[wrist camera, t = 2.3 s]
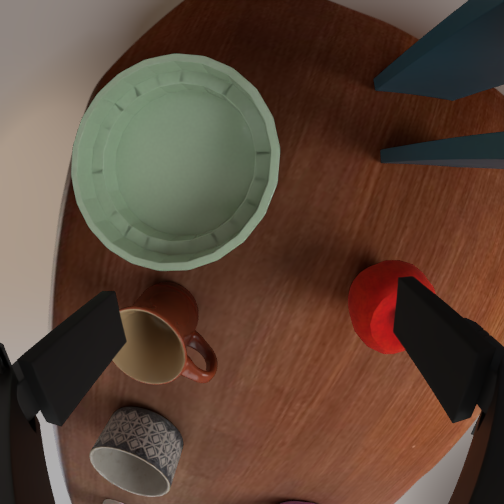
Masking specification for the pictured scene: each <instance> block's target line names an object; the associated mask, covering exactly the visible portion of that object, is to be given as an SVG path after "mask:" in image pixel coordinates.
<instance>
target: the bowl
mask: <svg viewBox="0 0 504 504" xmlns="http://www.w3.org/2000/svg"><path fill="white" fill-rule="evenodd" d="M279 160H280V146H279V141H278V136H277V132H276V127H275V123H274V118H273V116H272V114H271V112H270V111H269V109H268V107H267V105H266V104H265V102H264V100H263V98H262V97H261V95H260V93H259V92H258V90H257V89H256V88H255V87H254V86H253V85H252V84H251V83H250V82H249V81H247V80H246V79H245V78H244V77H243V76H242V75H241V74H239V73H238V72H237V71H236V70H235V69H233V68H232V67H229V66H227V65H225V64H223V63H220V62H218V61H215V60H213V59H211V58H208V57H206V56H199V55H189V54H176V53H175V54H169V55H164V56H159V57H155V58H150V59H146V60H143V61H142V62H140V63H138V64H136V65H134V66H132V67H130V68H128V69H126V70H124V71H123V72H121V73H119V74H118V75H117V76H116V77H114V78H113V79H112V80H111V81H110V82H109V83H108V84H107V85H106V86H105V87H104V88H103V89H102V90H101V91H100V92H99V93H98V94H97V95H96V97H95V98H94V100H93V101H92V103H91V104H90V106H89V107H88V109H87V111H86V112H85V114H84V116H83V117H82V119H81V122H80V125H79V128H78V131H77V134H76V138H75V141H74V144H73V151H72V168H71V177H72V183H73V188H74V193H75V197H76V202H77V205H78V207H79V209H80V211H81V213H82V215H83V217H84V219H85V221H86V223H87V225H88V227H89V228H90V229H91V230H92V232H93V233H94V234H95V235H96V236H97V237H98V238H99V239H100V241H101V242H102V243H103V244H104V245H105V246H106V247H107V248H108V249H109V250H111V251H112V252H114V253H116V254H117V255H119V256H120V257H122V258H124V259H125V260H127V261H129V262H130V263H132V264H136V265H139V266H143V267H147V268H150V269H154V270H158V271H174V270H190V269H193V268H196V267H199V266H202V265H205V264H208V263H211V262H214V261H217V260H219V259H220V258H222V257H223V256H225V255H226V254H227V253H229V252H230V251H232V250H233V249H234V248H236V247H237V246H239V245H240V244H242V243H243V242H244V241H245V240H246V239H247V237H248V236H249V235H250V234H251V232H252V231H253V230H254V228H255V227H256V226H257V225H258V223H259V222H260V221H261V220H262V218H263V217H264V215H265V214H266V211H267V209H268V206H269V203H270V201H271V198H272V196H273V193H274V191H275V188H276V186H277V182H278V171H279Z"/></svg>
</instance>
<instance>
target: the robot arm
mask: <svg viewBox="0 0 504 504" xmlns="http://www.w3.org/2000/svg"><path fill="white" fill-rule="evenodd" d="M393 333H394V334H395V335H396V337H397V338H398V340H399V341H400V343H401V344H402V346H403V347H404V348H405V350H406V351H407V353H408V354H409V356H410V357H411V359H412V360H413V362H414V363H415V365H416V366H417V368H418V369H419V371H420V372H421V374H422V375H423V377H424V378H425V380H426V381H427V383H428V385H429V386H430V388H431V389H432V391H433V392H434V394H435V395H436V397H437V399H438V400H439V402H440V403H441V405H442V407H443V408H444V410H445V411H446V413H447V415H448V416H449V418H450V420H451V421H452V423H455V422H458V421H461V420H464V419H467V418H470V417H471V416H472V413H473V411H474V409H475V406H476V404H478V406H479V407H480V409H481V410H482V411H481V413H480V416H479V418H478V420H477V422H476V424H475V426H474V428H473V431H472V433H471V434H473V439H472V442H471V446H470V448H469V452H468V455H467V458H466V460H465V463H464V466H463V469H462V472H461V474H460V477H459V479H458V482H457V485H456V487H455V489H454V492H453V494H452V496H451V499H450V501H449V503H448V504H504V347H503V346H502V345H501V344H500V343H499V342H498V341H497V340H496V339H494V338H493V337H492V336H491V335H490V336H489V333H488V332H486V331H485V330H483V328H482V327H481V326H480V325H478V324H477V323H476V322H474V321H472V320H469V319H467V318H463V317H462V316H460V315H459V314H458V313H457V312H456V311H455V310H453V309H452V308H451V307H450V306H449V305H448V304H446V303H445V302H444V301H443V300H442V299H440V298H439V297H438V296H437V295H436V294H434V293H433V292H432V291H431V290H429V289H428V288H427V287H426V286H425V285H423V284H422V283H421V282H420V281H418V280H417V279H416V278H415V277H413V276H409V277H398V287H397V299H396V309H395V318H394V326H393ZM126 342H127V340H126V336H125V332H124V328H123V324H122V320H121V316H120V311H119V307H118V303H117V298H116V293H115V291H102V292H100V293H99V294H98V295H97V296H95V297H94V298H93V299H91V300H90V301H89V302H87V303H86V304H85V305H84V306H82V307H81V308H80V309H78V310H77V311H76V312H75V313H73V314H72V315H71V316H70V317H68V318H67V319H66V320H65V321H63V322H62V323H61V324H60V325H58V326H57V327H56V328H55V329H53V330H52V331H51V332H50V333H48V334H47V335H46V336H45V337H44V338H43V339H41V340H40V341H39V342H38V343H36V344H35V345H34V346H33V347H32V348H31V349H29V350H28V351H27V352H26V353H24V355H22V356H21V357H20V358H19V359H17V361H16V362H15V363H14V364H13V365H11V362H10V360H9V358H8V355H7V353H6V351H5V348H4V345H3V344H2V343H0V504H55V501H54V497H53V493H52V489H51V485H50V480H49V476H48V471H47V466H46V461H45V456H44V451H43V444H42V437H41V430H40V423H39V421H38V419H37V417H36V414H37V413H38V411H40V410H41V412H42V414H43V416H44V418H45V419H46V421H47V422H49V423H52V424H55V425H58V426H62V425H63V424H64V422H65V421H66V420H67V418H68V417H69V416H70V414H71V413H72V412H73V410H74V409H75V408H76V406H77V405H78V404H79V402H80V401H81V400H82V398H83V397H84V396H85V394H86V393H87V392H88V391H89V389H90V388H91V387H92V385H93V384H94V383H95V381H96V380H97V379H98V378H99V376H100V375H101V374H102V372H103V371H104V370H105V369H106V367H107V366H108V365H109V364H110V362H111V361H112V360H113V359H114V357H115V356H116V355H117V353H118V352H119V351H120V350H121V348H122V347H123V346H124V345H125V343H126Z"/></svg>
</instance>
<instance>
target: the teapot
mask: <svg viewBox="0 0 504 504" xmlns="http://www.w3.org/2000/svg"><path fill="white" fill-rule="evenodd" d="M280 504H315V503H310V502H301V501H287V502H283V503H280Z"/></svg>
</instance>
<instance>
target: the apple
mask: <svg viewBox="0 0 504 504" xmlns="http://www.w3.org/2000/svg"><path fill="white" fill-rule="evenodd" d="M409 276H413V277H415V278H416V279H417V280H418V281H420V282H421V283H422V284H423V285H425V286H426V287H427V288H428V289H429V290H431V291H432V292H433V293H434V294H435V290H434V287H433V286H432V285H431V283H430V282H429V281H428V279H427V278H426V276H425V275H424V274H423V273H422V272H421V271H420V270H419V269H418V268H417V267H415V266H414V265H413V264H410V263H406V262H403V261H400V260H385V261H383V262H380V263H378V264H375V265H372V266H370V267H368V268H366V269H365V270H363V271H362V272H360V273H359V274H358V275H357V277H356V278H355V279H354V280H353V282H352V284H351V286H350V290H349V295H348V308H349V313H350V317H351V320H352V324H353V327H354V330H355V332H356V333H357V335H358V336H359V337H360V338H361V340H362V341H363V342H364V343H365V344H366V345H367V346H368V347H370V348H372V349H374V350H376V351H378V352H380V353H383V354H395V353H398V352H401V351H404V350H405V348H404V347H403V346H402V344H401V343H400V341H399V340H398V338H397V337H396V335H395V334H394V333H393V326H394V318H395V309H396V299H397V287H398V277H409Z"/></svg>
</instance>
